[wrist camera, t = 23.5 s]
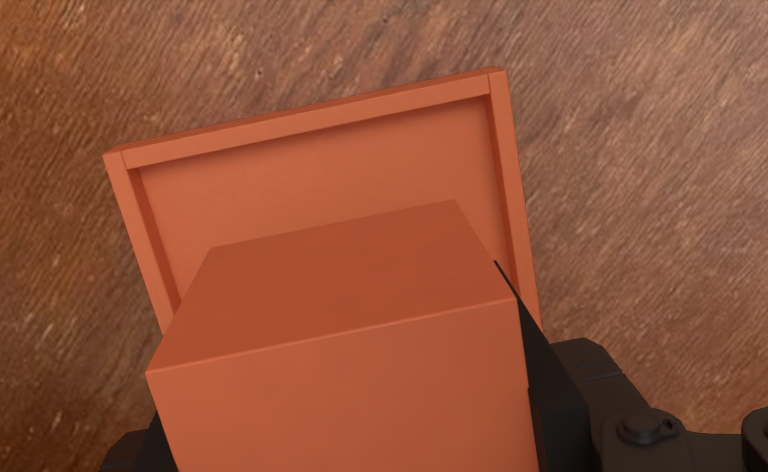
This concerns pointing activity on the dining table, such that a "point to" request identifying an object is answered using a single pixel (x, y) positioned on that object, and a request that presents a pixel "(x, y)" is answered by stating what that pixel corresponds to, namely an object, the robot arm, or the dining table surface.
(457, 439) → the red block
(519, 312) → the robot arm
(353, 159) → the clay tray
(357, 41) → the dining table surface
